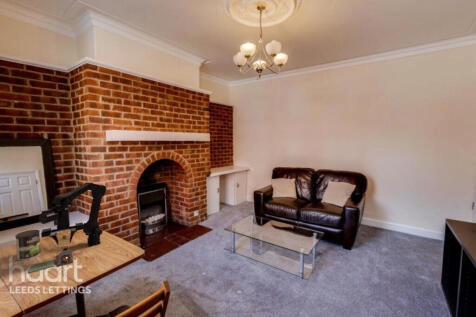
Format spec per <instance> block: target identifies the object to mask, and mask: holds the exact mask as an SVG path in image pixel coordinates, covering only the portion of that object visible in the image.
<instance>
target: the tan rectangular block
mask: <svg viewBox="0 0 476 317" xmlns="http://www.w3.org/2000/svg"><path fill="white" fill-rule="evenodd" d="M70 244H71V243H70V235H65V234H64V235H62V236H61V237H58V245H57V246H58V247H63V246H68V245H70Z"/></svg>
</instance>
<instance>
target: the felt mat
mask: <svg viewBox="0 0 476 317" xmlns="http://www.w3.org/2000/svg"><path fill="white" fill-rule="evenodd" d="M54 267H55V259H51V260H46V261H42V262H39V263H38V262H37V263H35V264H30V266H29V270H28V274H32V273H36V272H39V271H42V270H47V269H50V268H54Z"/></svg>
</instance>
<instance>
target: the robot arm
mask: <svg viewBox="0 0 476 317" xmlns="http://www.w3.org/2000/svg"><path fill="white" fill-rule="evenodd" d="M88 191H90V194H91V196H92V200H91V201H92V202H91V207H90V210H89V211H90V212H89V216H88V220H87V221H86V222H82V221H81V222H76V223H75V224H74V225H71V223H70V222H71V221H70V209H71V208H72V209H73V206H72V205H70V204H72V203H73V202H74V200H75V199H76V198H78V197H79V196H81V195H83V194H84V193H86V192H88ZM106 191H107V186H106V185H105V184H96V183H94V182H91V181H90V182H87V181H86V182H84V184H83V183H82V185H80V186H78V187H76V188H74V189H73V190H71V191H68V192H65V193H62V194H59V195H56V196H55V197H53V199H52V202H51V203H50V205H49V206H48V209H46V210H41V213H40V214H39V217H38V220H39V221H38V222H40V224H42V225H46V224H49V223H51V222H53V226H55V227H56V228H53V229H52V227H50V228H43V229H42V230H41V233H40V236H41V238H46V237H49V238H52V239H53V240H54V242H55V243H56V246H58V239H59V237H58V233H60V232H65V231H69V232H70V244H71V242H72V241H73V240H72V239H74V238H73V237H74V236H75V234H76V233H78V231H83V233H84V234H85V236H87V238H86V240H87V245H88V247H93V246H98V245H101V244H102V243H101V235H103V231H104V230H103V229H101V228H100V223H99V221H98V220H99V219H98V218H99V213H100V209H101V202H102V199H103V197H104V196H105V195H106Z"/></svg>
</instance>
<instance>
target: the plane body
mask: <svg viewBox="0 0 476 317" xmlns="http://www.w3.org/2000/svg"><path fill="white" fill-rule="evenodd" d="M57 256H58V258H57V259H58V260H57V267H62V266H66V265H69V264H70V265H71V264H73V263H74V259H73V258H74V257H73V256H74V255H73V250H72V249H71V250H70V249H68V245H63V246H62V250H61V251H60V252H59V253H58V255H57Z"/></svg>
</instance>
